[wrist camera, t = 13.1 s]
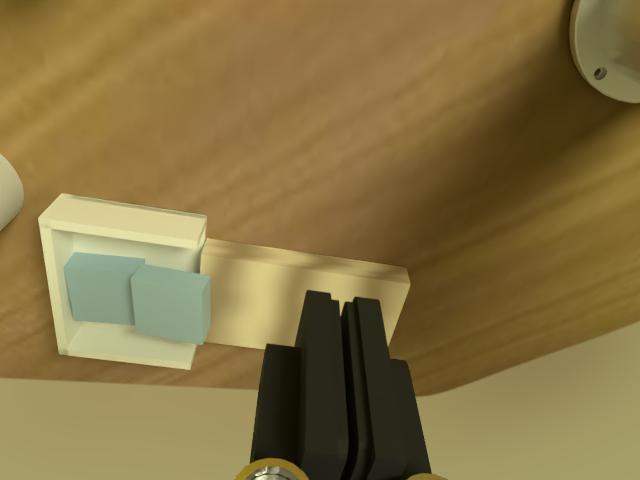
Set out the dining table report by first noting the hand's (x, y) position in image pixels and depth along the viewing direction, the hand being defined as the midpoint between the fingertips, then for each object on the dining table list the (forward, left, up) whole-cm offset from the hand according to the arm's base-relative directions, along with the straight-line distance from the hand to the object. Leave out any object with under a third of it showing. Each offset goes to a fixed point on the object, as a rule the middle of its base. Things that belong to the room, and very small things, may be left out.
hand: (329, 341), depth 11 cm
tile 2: (+9, +21, -25) cm, 34 cm away
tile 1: (+15, +22, -26) cm, 37 cm away
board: (-2, +21, -27) cm, 34 cm away
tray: (+13, +21, -27) cm, 37 cm away
